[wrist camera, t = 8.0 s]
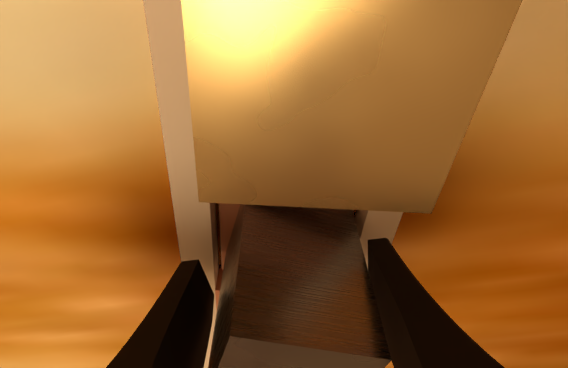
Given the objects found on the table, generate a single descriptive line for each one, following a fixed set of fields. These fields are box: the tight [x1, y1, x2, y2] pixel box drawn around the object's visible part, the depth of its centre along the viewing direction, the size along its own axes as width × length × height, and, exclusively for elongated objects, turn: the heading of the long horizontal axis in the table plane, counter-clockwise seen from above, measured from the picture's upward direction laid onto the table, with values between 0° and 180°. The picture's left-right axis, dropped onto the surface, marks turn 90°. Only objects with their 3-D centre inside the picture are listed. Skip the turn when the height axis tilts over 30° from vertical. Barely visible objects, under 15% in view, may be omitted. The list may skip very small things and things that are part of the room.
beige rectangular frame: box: [143, 0, 403, 368], centre depth 14 cm, size 8×26×1 cm, turn 176°
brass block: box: [181, 0, 522, 213], centre depth 7 cm, size 4×4×6 cm
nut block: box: [208, 204, 391, 368], centre depth 12 cm, size 4×4×6 cm
